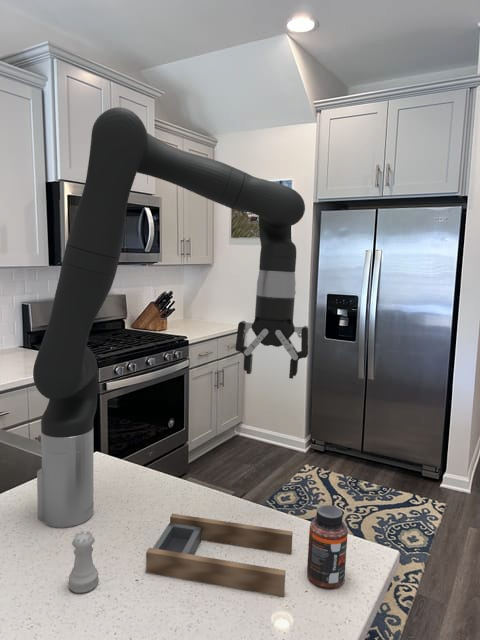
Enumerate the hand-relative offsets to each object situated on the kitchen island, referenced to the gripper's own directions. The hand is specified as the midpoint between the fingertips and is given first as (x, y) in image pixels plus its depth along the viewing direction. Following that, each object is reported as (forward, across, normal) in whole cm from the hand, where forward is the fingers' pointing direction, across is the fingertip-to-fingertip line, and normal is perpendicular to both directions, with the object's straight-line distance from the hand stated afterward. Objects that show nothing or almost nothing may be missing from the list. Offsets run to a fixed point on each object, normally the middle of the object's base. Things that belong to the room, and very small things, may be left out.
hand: (270, 375), depth 95 cm
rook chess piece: (+28, -23, -31) cm, 48 cm away
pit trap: (+28, -12, -20) cm, 36 cm away
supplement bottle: (+27, +13, -20) cm, 37 cm away
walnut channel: (+28, -4, -20) cm, 34 cm away
